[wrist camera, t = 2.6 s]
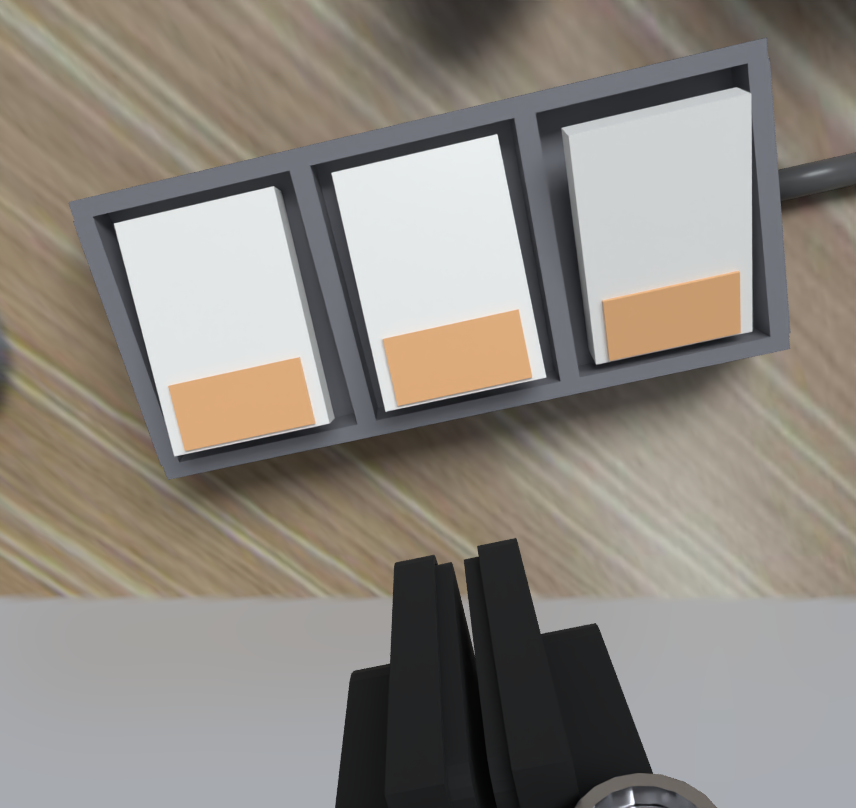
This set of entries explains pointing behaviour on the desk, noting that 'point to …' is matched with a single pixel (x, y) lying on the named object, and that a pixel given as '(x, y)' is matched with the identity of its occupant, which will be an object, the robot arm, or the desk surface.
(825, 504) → the desk surface
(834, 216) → the desk surface
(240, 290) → the rocker
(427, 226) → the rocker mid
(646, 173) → the rocker
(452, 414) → the strip
